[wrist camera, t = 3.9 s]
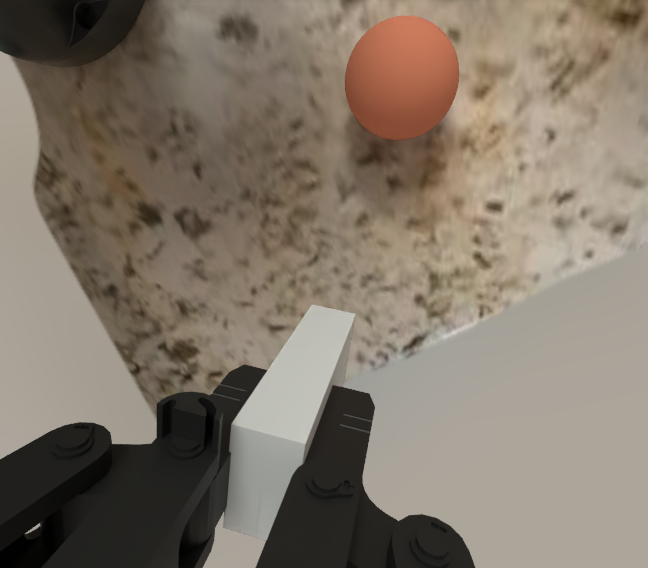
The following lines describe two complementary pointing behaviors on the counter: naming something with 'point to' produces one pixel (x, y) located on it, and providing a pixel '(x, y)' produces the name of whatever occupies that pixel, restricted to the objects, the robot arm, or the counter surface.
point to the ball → (402, 77)
